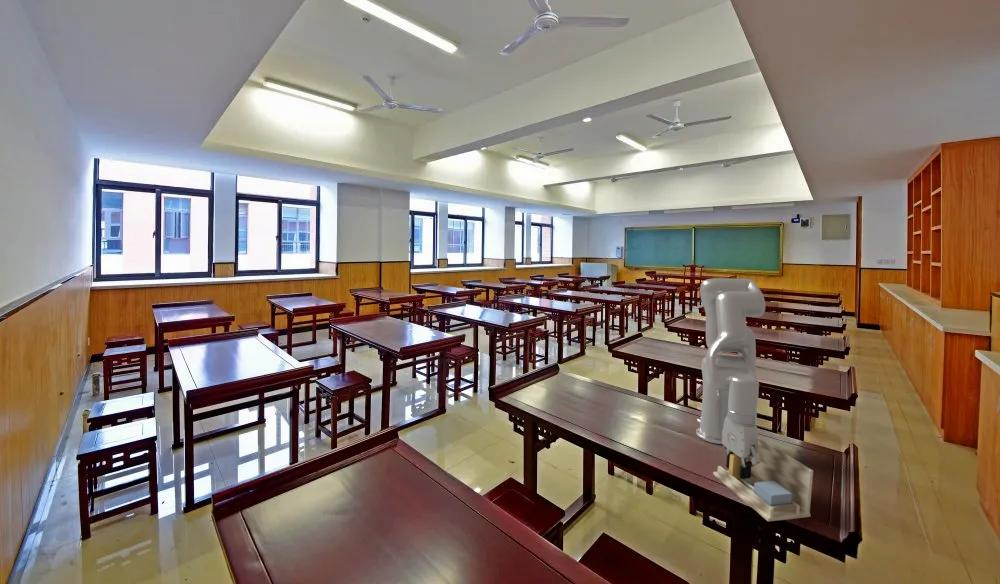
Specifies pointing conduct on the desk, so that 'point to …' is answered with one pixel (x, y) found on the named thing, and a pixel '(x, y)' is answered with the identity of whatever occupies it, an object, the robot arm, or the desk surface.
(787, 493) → the toy blocks
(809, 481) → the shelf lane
